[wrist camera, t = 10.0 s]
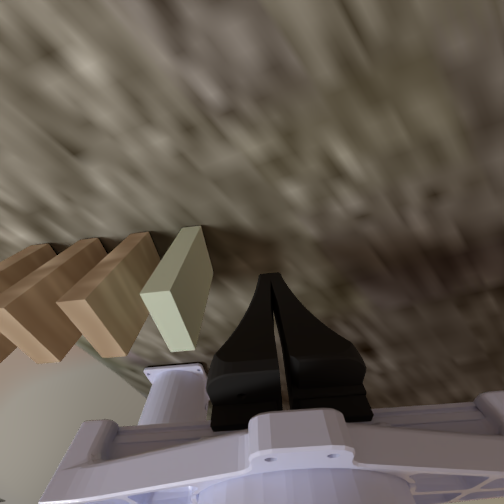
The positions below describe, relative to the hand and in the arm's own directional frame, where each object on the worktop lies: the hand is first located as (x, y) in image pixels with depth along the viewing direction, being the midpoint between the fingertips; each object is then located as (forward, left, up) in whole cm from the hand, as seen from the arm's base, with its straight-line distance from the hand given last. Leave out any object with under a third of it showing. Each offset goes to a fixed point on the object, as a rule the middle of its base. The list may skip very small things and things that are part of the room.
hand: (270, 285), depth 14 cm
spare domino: (0, +6, -5) cm, 8 cm away
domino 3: (0, +15, -5) cm, 16 cm away
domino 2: (0, +11, -5) cm, 12 cm away
